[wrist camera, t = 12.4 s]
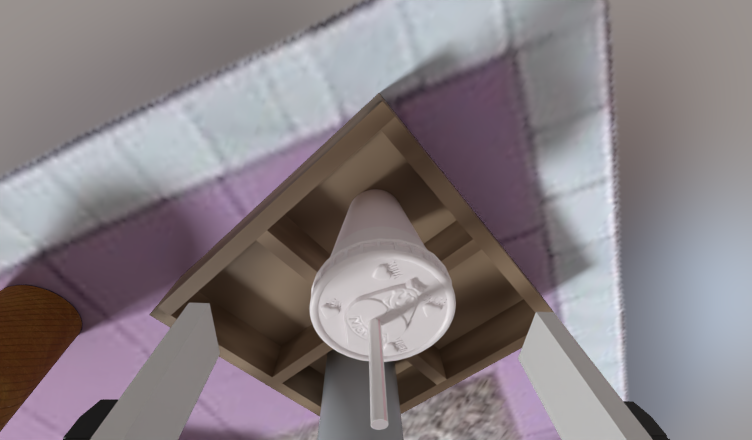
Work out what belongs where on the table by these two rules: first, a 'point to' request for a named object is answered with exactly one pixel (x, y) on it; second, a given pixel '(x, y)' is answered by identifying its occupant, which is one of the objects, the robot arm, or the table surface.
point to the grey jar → (355, 401)
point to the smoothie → (380, 292)
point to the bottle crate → (314, 246)
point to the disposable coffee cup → (31, 341)
